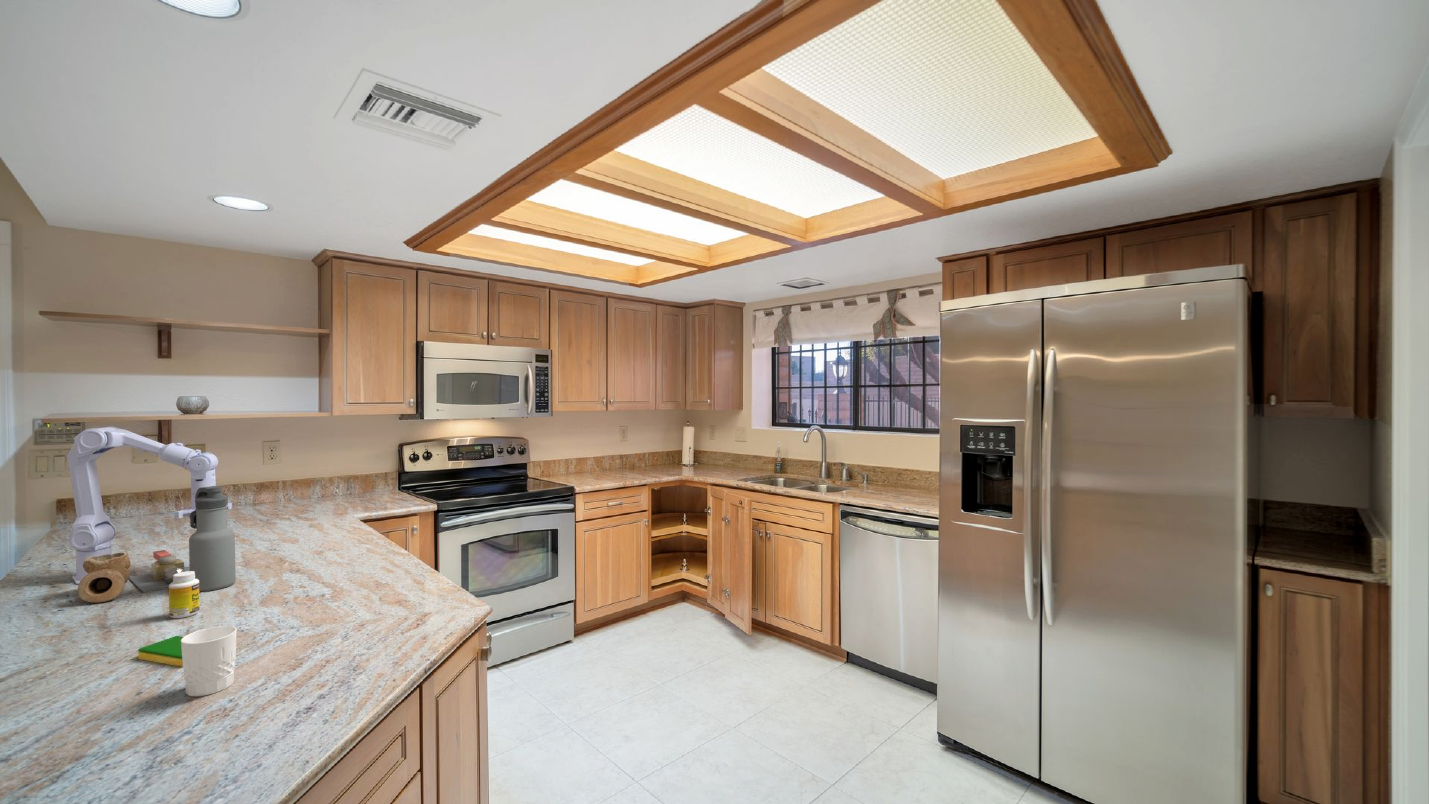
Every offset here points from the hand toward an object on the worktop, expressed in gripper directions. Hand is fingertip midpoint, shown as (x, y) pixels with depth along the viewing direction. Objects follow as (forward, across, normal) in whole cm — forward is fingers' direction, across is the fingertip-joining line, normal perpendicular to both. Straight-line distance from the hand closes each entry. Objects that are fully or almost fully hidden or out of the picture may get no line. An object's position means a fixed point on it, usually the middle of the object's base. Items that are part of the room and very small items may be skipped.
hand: (204, 537), depth 181 cm
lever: (+5, -8, +4) cm, 11 cm away
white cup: (+10, -50, -81) cm, 95 cm away
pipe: (+10, -24, 0) cm, 26 cm away
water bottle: (+10, -10, -20) cm, 24 cm away
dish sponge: (+11, -42, -60) cm, 74 cm away
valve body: (+10, -10, 0) cm, 14 cm away
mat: (+10, -8, -1) cm, 13 cm away
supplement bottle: (+10, -27, -36) cm, 46 cm away
